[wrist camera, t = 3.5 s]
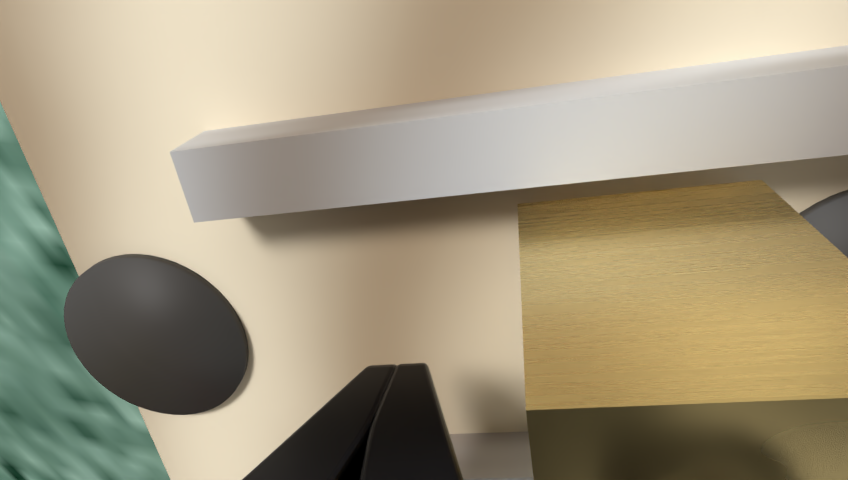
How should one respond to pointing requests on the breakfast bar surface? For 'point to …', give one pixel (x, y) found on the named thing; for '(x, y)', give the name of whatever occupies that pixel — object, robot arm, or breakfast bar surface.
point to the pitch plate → (379, 183)
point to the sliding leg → (683, 337)
